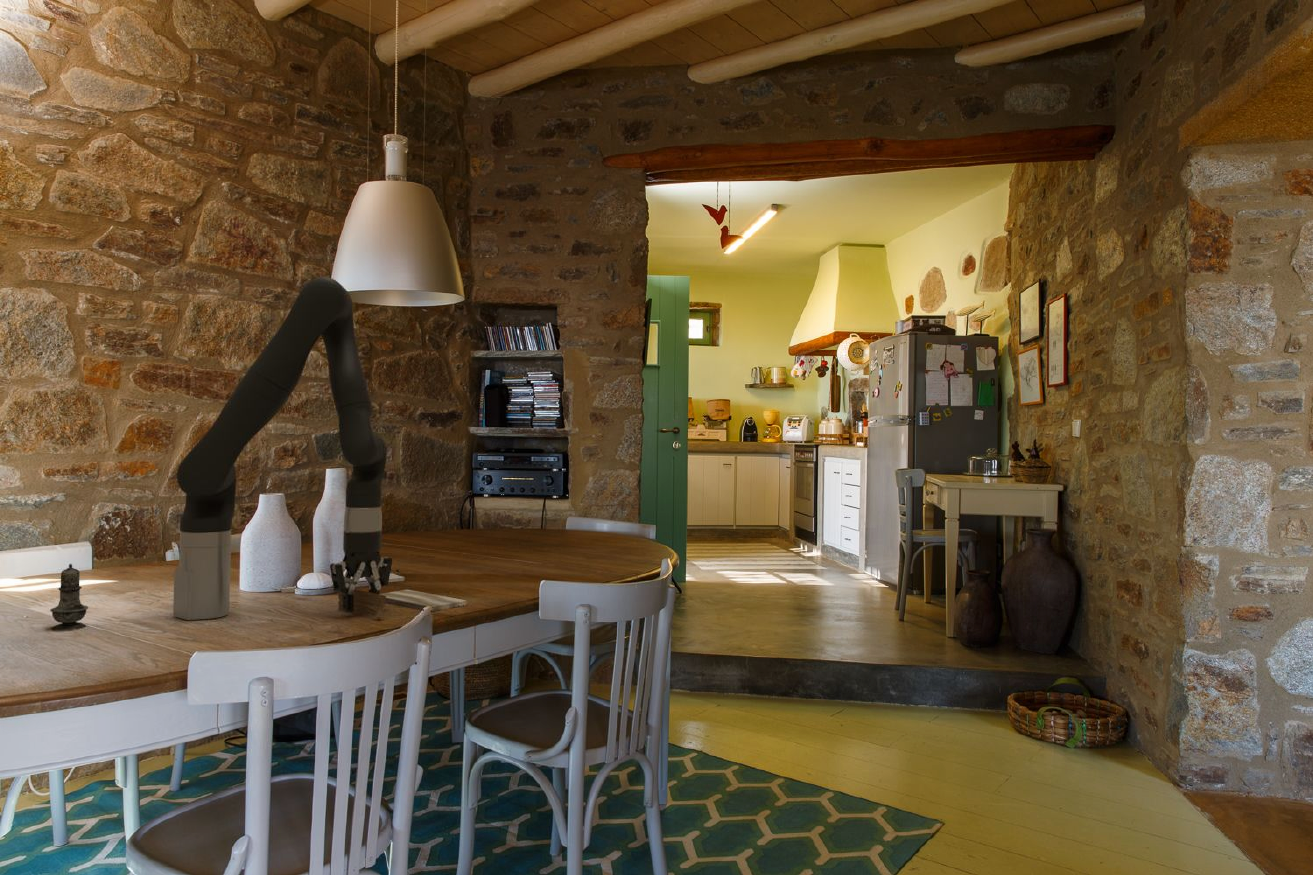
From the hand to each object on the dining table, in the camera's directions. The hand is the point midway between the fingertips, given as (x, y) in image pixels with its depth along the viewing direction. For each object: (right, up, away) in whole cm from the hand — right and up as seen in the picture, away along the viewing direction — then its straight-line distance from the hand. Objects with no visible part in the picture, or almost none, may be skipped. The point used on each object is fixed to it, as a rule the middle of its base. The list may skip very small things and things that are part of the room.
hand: (360, 609), depth 178 cm
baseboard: (-18, -1, +35) cm, 39 cm away
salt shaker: (-49, 0, -18) cm, 52 cm away
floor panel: (+8, -1, +14) cm, 16 cm away
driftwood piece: (0, -1, -1) cm, 1 cm away
